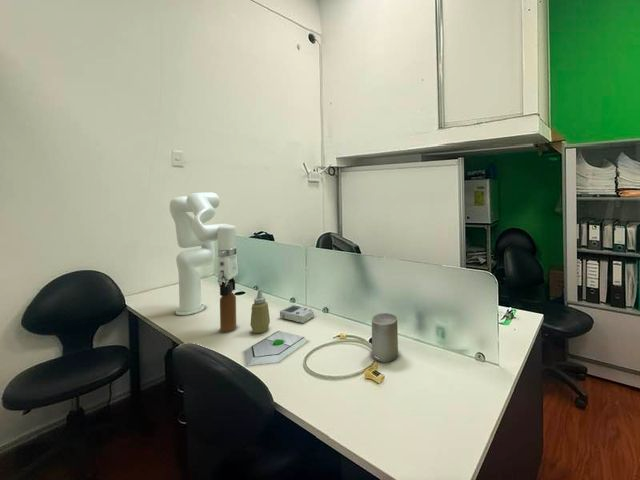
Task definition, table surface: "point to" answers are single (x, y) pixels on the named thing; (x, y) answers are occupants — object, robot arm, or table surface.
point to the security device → (273, 348)
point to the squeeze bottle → (260, 314)
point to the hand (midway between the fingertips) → (227, 292)
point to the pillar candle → (384, 337)
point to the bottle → (228, 313)
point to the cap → (230, 287)
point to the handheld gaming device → (297, 313)
